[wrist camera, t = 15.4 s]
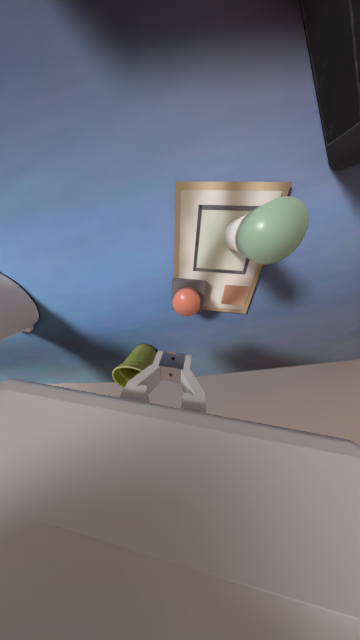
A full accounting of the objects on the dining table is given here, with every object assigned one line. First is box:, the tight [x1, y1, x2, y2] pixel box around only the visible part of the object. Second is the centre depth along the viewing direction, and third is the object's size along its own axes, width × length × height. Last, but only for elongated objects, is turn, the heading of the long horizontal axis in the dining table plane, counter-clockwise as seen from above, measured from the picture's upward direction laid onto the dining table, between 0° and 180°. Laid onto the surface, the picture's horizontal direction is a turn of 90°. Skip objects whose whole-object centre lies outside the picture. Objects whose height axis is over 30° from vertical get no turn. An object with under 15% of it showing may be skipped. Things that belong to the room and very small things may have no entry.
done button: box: [173, 287, 200, 316], centre depth 22 cm, size 4×4×2 cm
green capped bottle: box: [223, 196, 309, 264], centre depth 14 cm, size 4×4×12 cm
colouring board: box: [172, 182, 292, 314], centre depth 21 cm, size 14×18×2 cm
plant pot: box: [112, 344, 157, 388], centre depth 33 cm, size 9×9×9 cm
